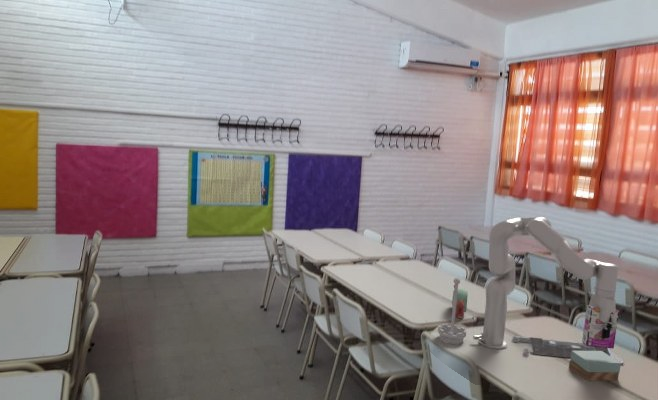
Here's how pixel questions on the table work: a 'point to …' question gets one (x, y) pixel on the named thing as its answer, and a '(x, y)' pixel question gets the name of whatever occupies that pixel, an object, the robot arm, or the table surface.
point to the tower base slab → (593, 373)
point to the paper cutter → (554, 350)
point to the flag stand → (452, 324)
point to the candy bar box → (597, 329)
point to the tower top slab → (595, 361)
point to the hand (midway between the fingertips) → (599, 334)
